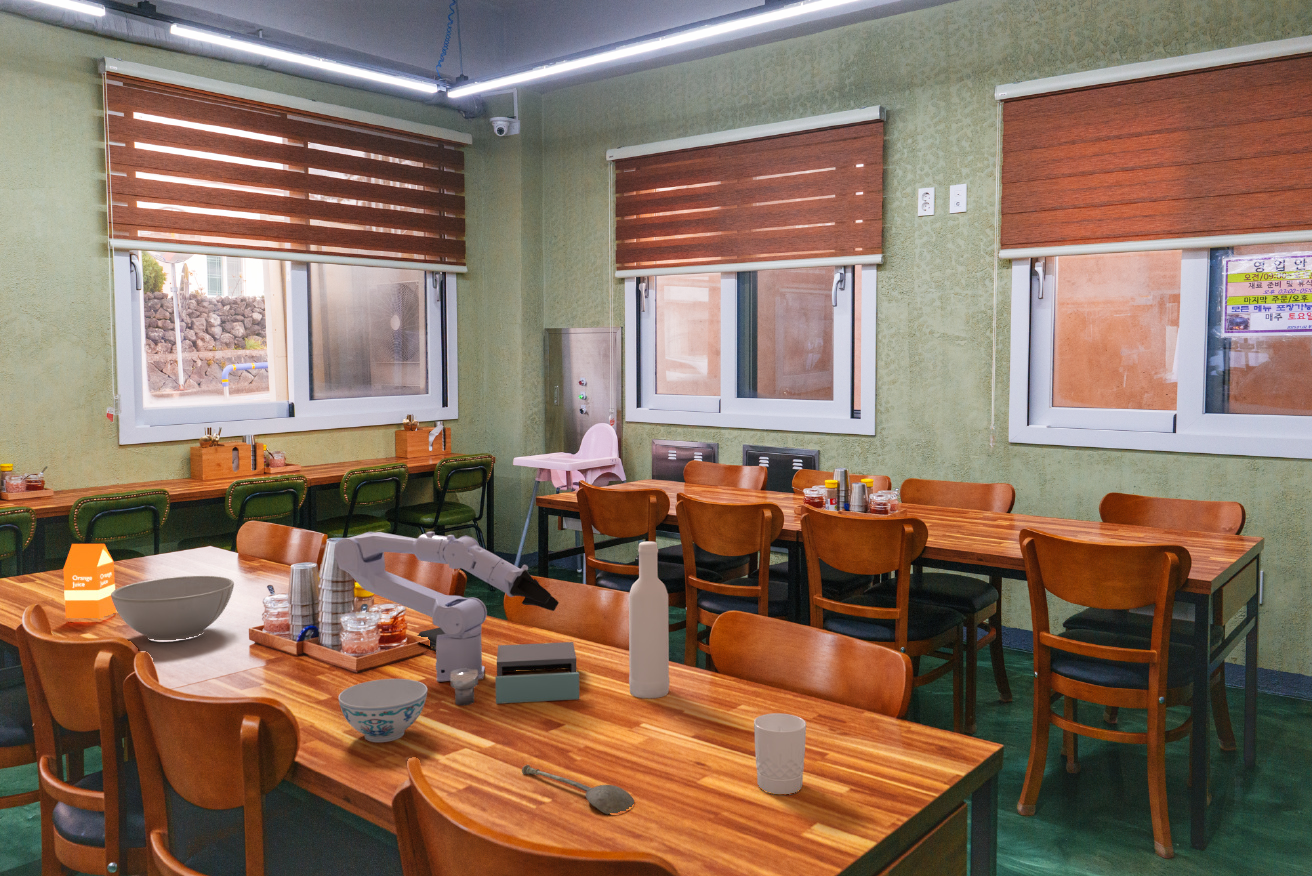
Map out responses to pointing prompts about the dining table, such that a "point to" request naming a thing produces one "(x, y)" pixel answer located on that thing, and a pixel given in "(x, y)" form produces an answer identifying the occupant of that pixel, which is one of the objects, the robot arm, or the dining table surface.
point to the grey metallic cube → (464, 696)
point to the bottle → (648, 629)
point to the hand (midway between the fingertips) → (552, 602)
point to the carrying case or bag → (432, 636)
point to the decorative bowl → (173, 605)
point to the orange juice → (89, 582)
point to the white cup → (780, 752)
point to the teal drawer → (537, 687)
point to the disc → (464, 678)
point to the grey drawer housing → (536, 657)
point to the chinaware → (383, 707)
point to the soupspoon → (595, 793)
